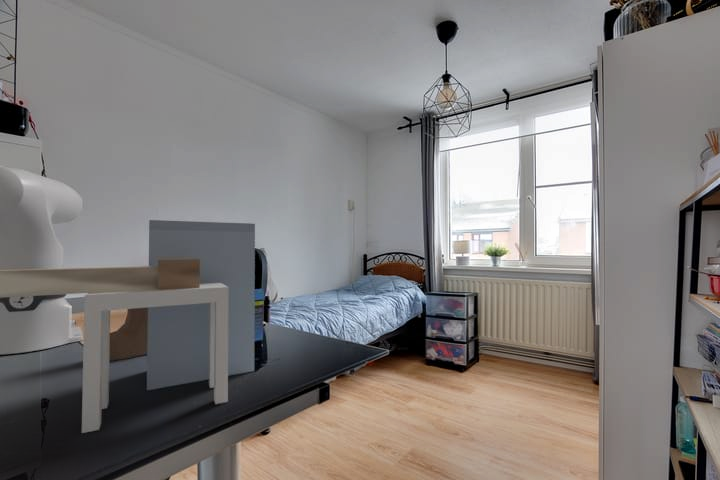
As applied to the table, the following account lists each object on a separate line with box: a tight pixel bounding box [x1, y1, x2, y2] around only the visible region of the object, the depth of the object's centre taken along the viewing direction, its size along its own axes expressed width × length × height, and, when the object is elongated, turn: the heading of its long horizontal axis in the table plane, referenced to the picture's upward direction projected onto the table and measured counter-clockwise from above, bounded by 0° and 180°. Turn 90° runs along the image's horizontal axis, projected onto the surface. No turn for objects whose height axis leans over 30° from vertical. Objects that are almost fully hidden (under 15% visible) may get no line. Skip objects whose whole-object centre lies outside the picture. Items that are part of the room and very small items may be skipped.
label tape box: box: [254, 288, 265, 343], centre depth 78 cm, size 9×4×12 cm, turn 141°
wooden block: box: [109, 265, 149, 363], centre depth 69 cm, size 9×4×18 cm, turn 135°
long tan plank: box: [0, 259, 200, 298], centre depth 44 cm, size 5×21×4 cm, turn 120°
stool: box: [81, 283, 229, 434], centre depth 47 cm, size 8×16×16 cm, turn 120°
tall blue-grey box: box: [146, 219, 256, 391], centre depth 60 cm, size 10×16×26 cm, turn 120°
